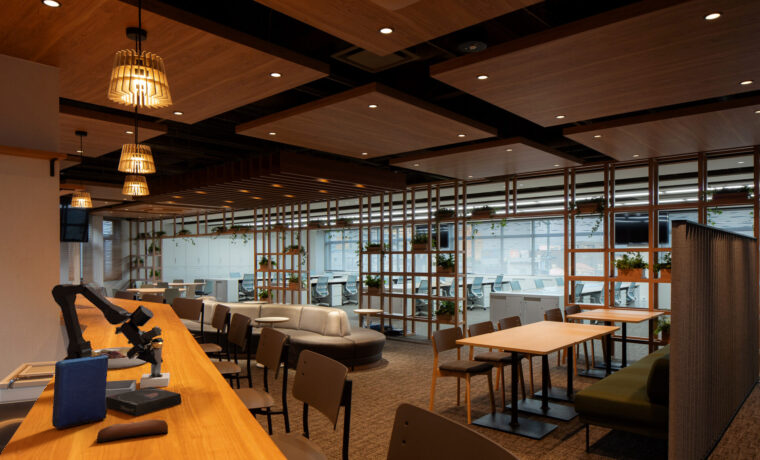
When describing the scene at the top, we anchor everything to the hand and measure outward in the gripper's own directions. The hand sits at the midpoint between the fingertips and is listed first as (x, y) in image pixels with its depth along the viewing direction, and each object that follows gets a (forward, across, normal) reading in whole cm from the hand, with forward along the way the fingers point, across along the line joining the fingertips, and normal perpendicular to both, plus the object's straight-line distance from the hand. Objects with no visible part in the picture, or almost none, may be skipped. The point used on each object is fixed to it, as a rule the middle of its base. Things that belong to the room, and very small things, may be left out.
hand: (159, 363), depth 197 cm
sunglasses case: (+21, -54, -8) cm, 59 cm away
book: (+6, -48, +5) cm, 49 cm away
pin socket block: (+5, 0, +7) cm, 8 cm away
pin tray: (0, -17, +12) cm, 21 cm away
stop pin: (+5, 0, +7) cm, 8 cm away
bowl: (-21, +34, +33) cm, 52 cm away
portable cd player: (+13, -28, 0) cm, 31 cm away
